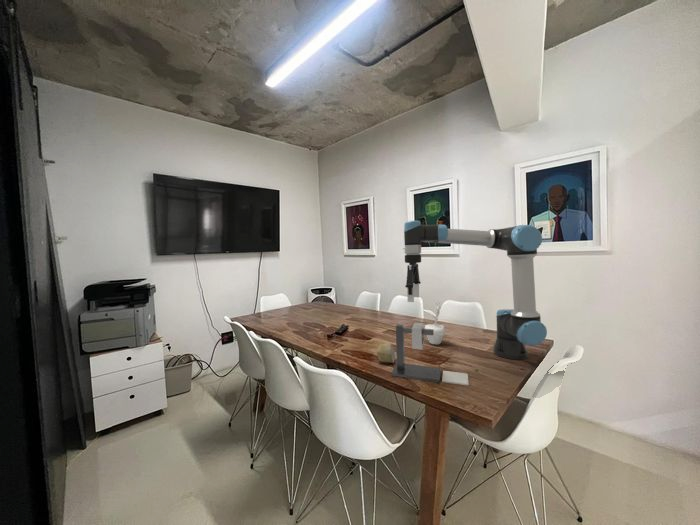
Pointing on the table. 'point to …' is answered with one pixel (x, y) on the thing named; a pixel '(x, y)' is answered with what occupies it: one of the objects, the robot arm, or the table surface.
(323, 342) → the table surface
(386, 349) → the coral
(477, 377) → the table surface
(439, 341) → the potted plant
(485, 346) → the table surface
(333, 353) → the table surface
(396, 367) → the stand
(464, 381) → the pad
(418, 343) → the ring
